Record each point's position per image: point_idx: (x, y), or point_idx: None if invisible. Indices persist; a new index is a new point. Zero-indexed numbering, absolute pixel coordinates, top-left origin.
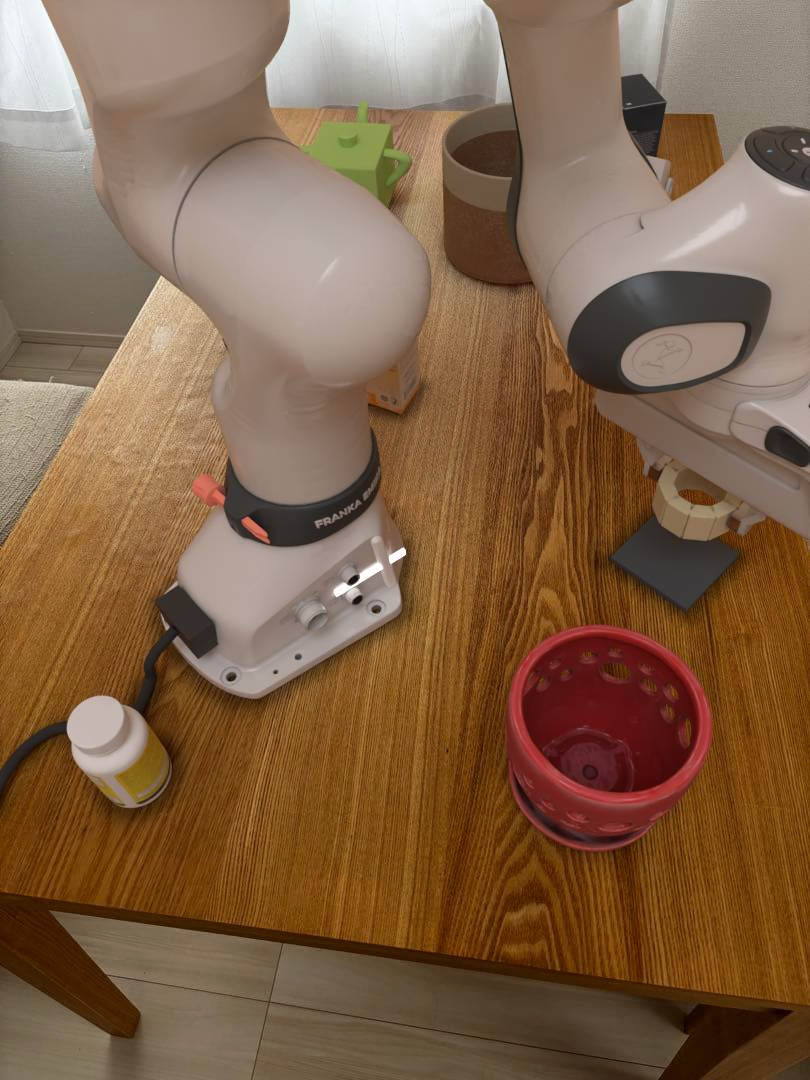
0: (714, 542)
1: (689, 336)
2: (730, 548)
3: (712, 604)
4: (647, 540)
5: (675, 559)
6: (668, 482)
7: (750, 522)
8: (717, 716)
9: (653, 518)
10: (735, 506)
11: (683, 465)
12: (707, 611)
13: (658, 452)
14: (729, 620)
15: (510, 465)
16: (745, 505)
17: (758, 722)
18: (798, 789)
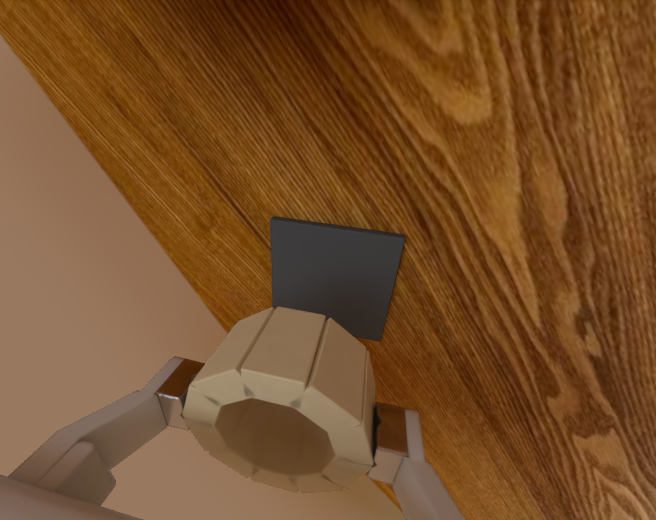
0: None
1: None
2: None
3: (258, 246)
4: (371, 288)
5: (325, 280)
6: (338, 430)
7: (121, 402)
8: (146, 89)
9: (382, 320)
10: (188, 418)
11: (336, 471)
12: (257, 234)
13: (404, 496)
14: (231, 237)
15: (644, 312)
16: (178, 425)
17: (115, 120)
18: (23, 60)
